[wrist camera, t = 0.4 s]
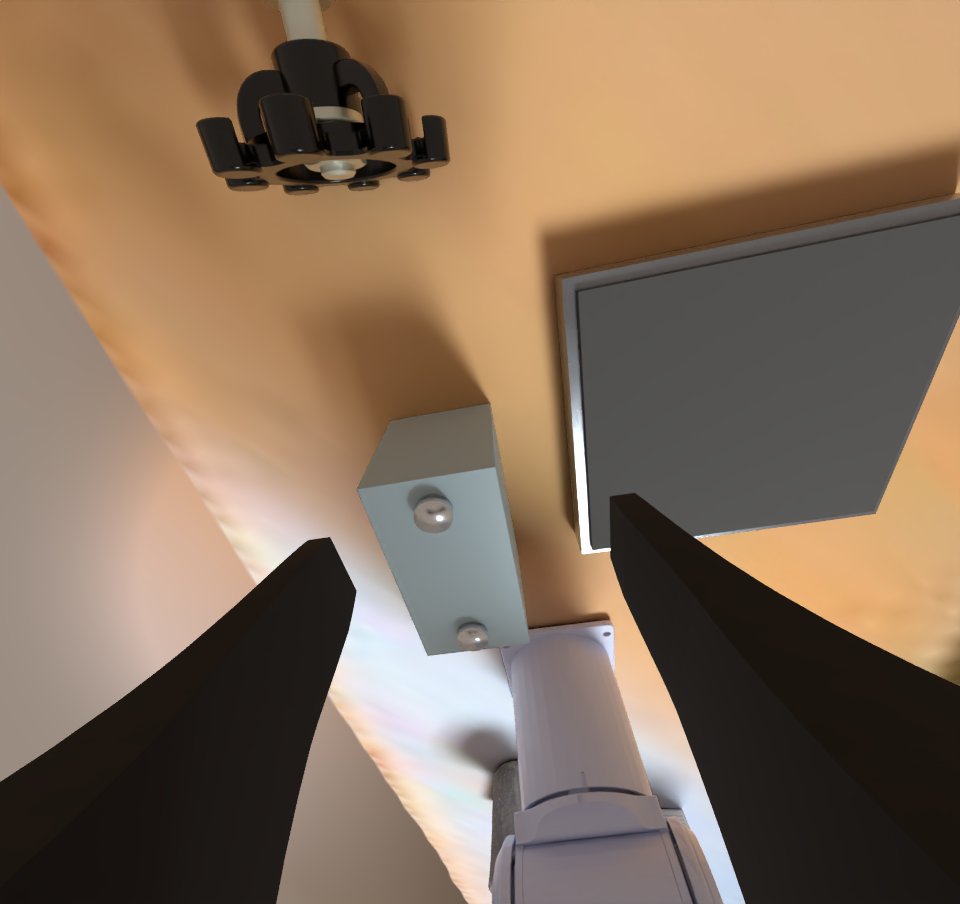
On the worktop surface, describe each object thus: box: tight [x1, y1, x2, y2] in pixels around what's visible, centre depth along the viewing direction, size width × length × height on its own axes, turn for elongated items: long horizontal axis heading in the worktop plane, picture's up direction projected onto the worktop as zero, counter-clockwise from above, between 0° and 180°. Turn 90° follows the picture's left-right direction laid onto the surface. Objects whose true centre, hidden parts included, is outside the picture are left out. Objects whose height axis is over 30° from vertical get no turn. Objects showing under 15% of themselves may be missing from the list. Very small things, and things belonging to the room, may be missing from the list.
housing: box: [357, 403, 530, 656], centre depth 18 cm, size 10×5×6 cm, turn 11°
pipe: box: [488, 760, 522, 893], centre depth 35 cm, size 6×13×8 cm, turn 0°
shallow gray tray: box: [554, 193, 960, 554], centre depth 17 cm, size 14×15×2 cm
